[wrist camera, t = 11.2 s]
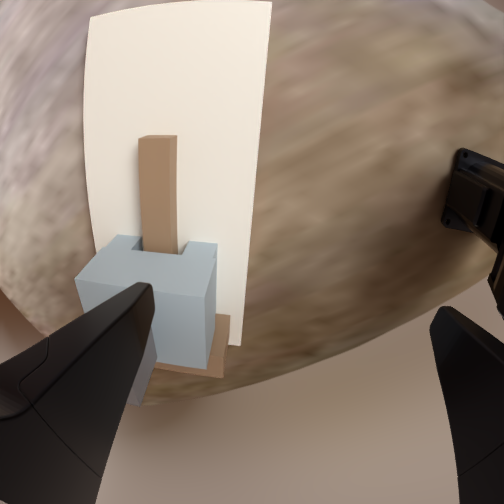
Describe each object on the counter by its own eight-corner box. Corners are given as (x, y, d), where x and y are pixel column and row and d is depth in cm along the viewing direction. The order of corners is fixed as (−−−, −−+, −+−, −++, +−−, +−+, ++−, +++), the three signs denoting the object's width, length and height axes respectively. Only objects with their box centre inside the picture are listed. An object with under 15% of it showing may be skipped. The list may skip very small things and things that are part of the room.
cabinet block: (220, 243, 20) (188, 355, 12) (218, 311, 23) (196, 421, 14) (115, 234, 20) (39, 322, 12) (125, 298, 23) (74, 391, 15)
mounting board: (271, 9, 14) (273, -26, 9) (241, 334, 26) (235, 387, 21) (100, 20, 14) (51, 6, 9) (119, 316, 26) (94, 361, 21)
